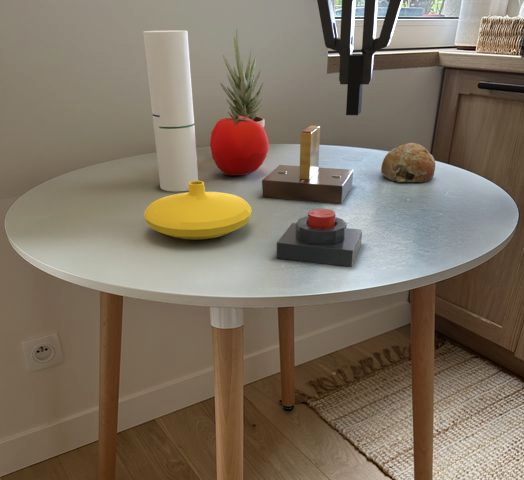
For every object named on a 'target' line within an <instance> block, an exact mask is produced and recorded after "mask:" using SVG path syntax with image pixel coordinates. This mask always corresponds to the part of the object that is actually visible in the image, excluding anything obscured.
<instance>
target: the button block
mask: <svg viewBox="0 0 524 480" xmlns="http://www.w3.org/2000/svg"><path fill="white" fill-rule="evenodd" d="M347 225H348V223H347V222H346V221H345V220H344V219H343V218H341V217H338V216H335V227H332V228H325V229H321V228H313V227H310V226H308V215H306V216H304V217H301V218H298V220H297V221H296V222H291V224H290V226H289V227H288V228H287V229H286V230H285V231H284V233H282V235H281V236H280V238H279V239H278V240H277V241H276V259H278V260H279V259H280V260H288V261H299V262H307V263H316V264H324V265H333V266H341V267H353V265H354V262H355V259H356V258H357V255H358V252H359V250H360V249H361V245H362V238H363V229H360V228H349V227H348V226H347Z"/></svg>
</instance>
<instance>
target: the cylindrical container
mask: <svg viewBox="0 0 524 480" xmlns="http://www.w3.org/2000/svg"><path fill="white" fill-rule="evenodd" d="M188 32H189V31H188V30H181V29H180V30H179V29H177V30H176V29H174V30H172V29H171V30H168V29H167V30H165V29H164V30H145V31H142V34H143V44H144V52H145V60H146V61H145V62H146V71H147V78H148V79H147V80H148V87H149V88H148V89H149V96H150V105H151V107H150V108H151V114H152V124H153V133H154V142H155V150H156V161H157V170H158V178H159V186H160V189H161V190H163V191H167V192H176V193H177V192H189V182H192V181H199V168H198V155H197V154H198V153H197V142H196V129H195V127H196V125H195V114H194V100H193V88H192V87H193V86H192V76H191V75H192V74H191V61H190V46H189V33H188Z"/></svg>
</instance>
